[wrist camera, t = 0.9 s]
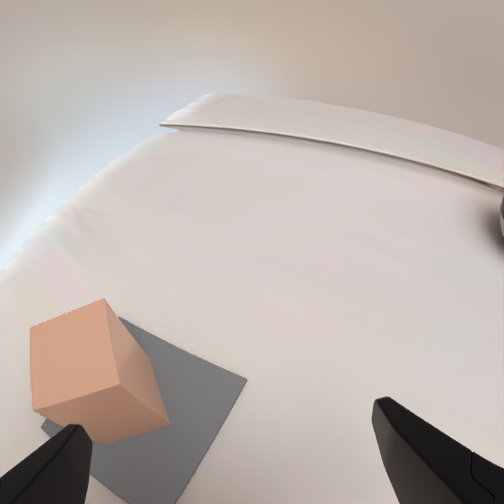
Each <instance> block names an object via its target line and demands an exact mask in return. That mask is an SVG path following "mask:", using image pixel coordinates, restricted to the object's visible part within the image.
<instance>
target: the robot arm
mask: <svg viewBox="0 0 504 504" xmlns="http://www.w3.org/2000/svg"><path fill="white" fill-rule="evenodd" d="M372 425H373V428H374V432H375V435H376V439H377V443H378V446H379V450H380V453H381V457H382V461H383V464H384V467H385V469H386V472H387V474H388V477H389V479H390V482H391V484H392V486H393V489H394V491H395V494H396V496H397V498H398V501H399V503H400V504H504V468H502V467H500V466H498V465H495V464H494V463H492V462H490V461H488V460H486V459H485V458H483V457H481V456H480V455H478V454H476V453H475V452H472V451H471V450H470V449H468V448H467V447H465V446H463V445H462V444H460V443H459V442H457V441H456V440H454V439H452V438H451V437H449V436H448V435H446V434H445V433H443V432H442V431H440V430H438V429H437V428H435V427H434V426H432V425H431V424H429V423H428V422H426V421H425V420H423V419H422V418H420V417H419V416H417V415H415V414H414V413H412V412H411V411H409V410H408V409H406V408H405V407H403V406H402V405H400V404H399V403H397V402H396V401H395V400H393V399H392V398H390V397H382V398H379V399H376V400H375V401H374V405H373V412H372ZM92 449H93V443H92V440H91V438H90V437H89V435H88V434H87V432H86V431H85V429H84V427H83V426H82V425H80V424H74V423H70V424H68V425H67V426H66V427H64V428H63V429H62V430H61V431H59V432H58V433H57V434H56V435H54V436H53V437H52V438H51V439H49V440H48V441H47V442H45V443H44V444H43V445H42V446H40V447H39V448H38V449H37V450H35V451H34V452H33V453H31V454H30V455H29V456H28V457H26V458H25V459H24V460H22V461H21V462H20V463H19V464H17V465H16V466H15V467H13V468H12V469H11V470H10V471H8V472H7V473H6V474H4V475H3V476H2V477H1V478H0V504H84V503H85V498H86V493H87V489H88V483H89V475H90V466H91V457H92Z"/></svg>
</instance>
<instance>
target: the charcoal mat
mask: <svg viewBox="0 0 504 504" xmlns="http://www.w3.org/2000/svg"><path fill="white" fill-rule="evenodd" d="M119 320H120V321H121V322H122V324H123V325H124V326H125V328H126V329H127V330H128V331H129V333H130V334H131V335H132V337H133V338H134V339H135V340H136V342H137V343H138V344H139V346H140V347H141V348H142V349H143V351H144V352H145V353H146V354H147V355H148V357H149V358H150V361H151V364H152V368H153V371H154V374H155V378H156V381H157V384H158V387H159V391H160V394H161V397H162V400H163V403H164V406H165V409H166V412H167V415H168V418H169V421H170V425H167V426H164V427H161V428H158V429H155V430H152V431H149V432H145V433H142V434H139V435H135V436H132V437H129V438H125V439H122V440H118V441H114V442H111V443H107V444H103V445H101V444H99V443H97V442H94V441H92V443H93V449H92V457H91V466H90V474H91V475H92V476H94V477H95V478H96V479H97V480H98V481H100V482H101V483H102V484H103V485H105V486H106V487H107V488H108V489H110V490H111V491H112V492H114V493H115V494H116V495H118V496H119V497H120V498H122V499H123V500H125V501H126V502H127V503H129V504H175V503H176V502H177V500H178V498H179V497H180V495H181V494H182V492H183V490H184V489H185V487H186V486H187V484H188V482H189V481H190V479H191V477H192V476H193V474H194V473H195V471H196V469H197V468H198V466H199V464H200V463H201V461H202V459H203V458H204V456H205V454H206V452H207V451H208V449H209V447H210V446H211V444H212V442H213V441H214V439H215V437H216V435H217V434H218V432H219V430H220V428H221V427H222V425H223V423H224V421H225V420H226V418H227V416H228V414H229V413H230V411H231V409H232V407H233V406H234V404H235V402H236V400H237V398H238V397H239V395H240V393H241V391H242V389H243V387H244V386H245V384H246V382H247V379H246V378H244V377H241V376H239V375H237V374H234V373H232V372H230V371H228V370H225V369H223V368H221V367H218V366H216V365H214V364H212V363H210V362H207V361H205V360H203V359H201V358H199V357H197V356H195V355H192V354H190V353H188V352H186V351H184V350H182V349H180V348H178V347H176V346H174V345H172V344H170V343H168V342H166V341H164V340H162V339H160V338H158V337H156V336H154V335H152V334H150V333H148V332H146V331H145V330H143V329H141V328H139V327H137V326H135V325H133V324H132V323H130V322H128V321H126V320H124V319H122V318H121V317H119ZM41 428H42V429H43V430H44V431H45V432H46V433H47V434H48V435H49V436H50V437H51V438H52V437H53V436H54V435H56V434H57V433H58V432H59V431H61V430H62V429H63V428H64V427H63V426H61V425H59V424H57V423H55V422H53V421H51V420H49V419H48V418H47V419H46V420H45V422H44V423H43V425H42V426H41Z"/></svg>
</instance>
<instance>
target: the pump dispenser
mask: <svg viewBox="0 0 504 504" xmlns="http://www.w3.org/2000/svg"><path fill="white" fill-rule="evenodd" d="M500 211H501V213H500V227H501V232H502V235H503V237H504V197H503V199H502V201H501V205H500Z"/></svg>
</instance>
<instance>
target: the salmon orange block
mask: <svg viewBox="0 0 504 504" xmlns="http://www.w3.org/2000/svg"><path fill="white" fill-rule="evenodd" d="M30 374H31V391H32V403H33V411H35V412H37V413H39V414H40V415H42V416H44V417H46V418H48V419H49V420H51V421H53V422H55V423H57V424H59V425H61V426H63V427H66V426H67V425H68V424H70V423H74V424H80V425H82V426H83V427H84V429H85V431H86V432H87V434H88V435H89V437H90V438H91V440H92V441H94V442H97V443H99V444H101V445H103V444H107V443H111V442H114V441H118V440H122V439H125V438H129V437H132V436H135V435H139V434H142V433H145V432H149V431H152V430H155V429H158V428H161V427H164V426H167V425H170V421H169V418H168V415H167V412H166V409H165V406H164V403H163V400H162V397H161V394H160V391H159V387H158V384H157V381H156V378H155V374H154V371H153V368H152V364H151V361H150V358H149V357H148V355H147V354H146V353H145V352H144V351H143V349H142V348H141V347H140V346H139V344H138V343H137V342H136V340H135V339H134V338H133V337H132V335H131V334H130V333H129V331H128V330H127V329H126V328H125V326H124V325H123V324H122V322H121V321H120V320H119V318H118V317H117V315H116V314H115V313H114V311H113V310H112V309H111V307H110V306H109V304H108V303H107V302H106V300H105V299H104V298H103V299H101V300H98V301H96V302H93V303H91V304H88V305H86V306H83V307H81V308H78V309H76V310H73V311H71V312H68V313H66V314H63V315H61V316H58V317H56V318H53V319H51V320H48V321H46V322H43V323H41V324H38V325H36V326H33V327H31V328H30Z"/></svg>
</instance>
